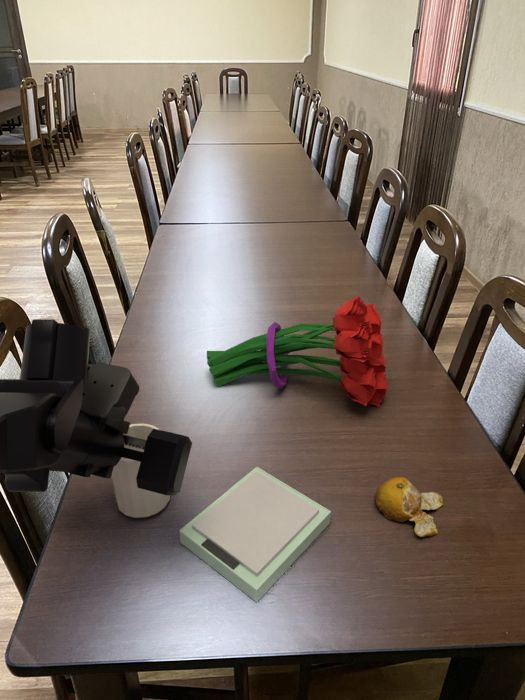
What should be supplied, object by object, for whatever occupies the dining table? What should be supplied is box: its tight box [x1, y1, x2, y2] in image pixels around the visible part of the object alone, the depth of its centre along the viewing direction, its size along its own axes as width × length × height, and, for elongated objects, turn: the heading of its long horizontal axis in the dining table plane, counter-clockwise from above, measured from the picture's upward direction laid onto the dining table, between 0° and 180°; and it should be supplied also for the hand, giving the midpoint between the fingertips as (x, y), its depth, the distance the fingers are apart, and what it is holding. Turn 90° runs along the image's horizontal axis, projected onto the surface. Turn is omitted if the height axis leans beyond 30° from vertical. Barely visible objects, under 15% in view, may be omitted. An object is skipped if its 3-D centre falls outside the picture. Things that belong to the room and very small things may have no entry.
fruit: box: [374, 476, 444, 538], centre depth 68 cm, size 8×8×4 cm
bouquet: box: [206, 294, 388, 407], centre depth 88 cm, size 20×16×30 cm
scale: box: [179, 466, 332, 603], centre depth 65 cm, size 14×12×3 cm
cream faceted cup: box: [111, 422, 171, 519], centre depth 67 cm, size 7×7×10 cm
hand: (137, 452), depth 65 cm, fingers open, 9 cm apart
